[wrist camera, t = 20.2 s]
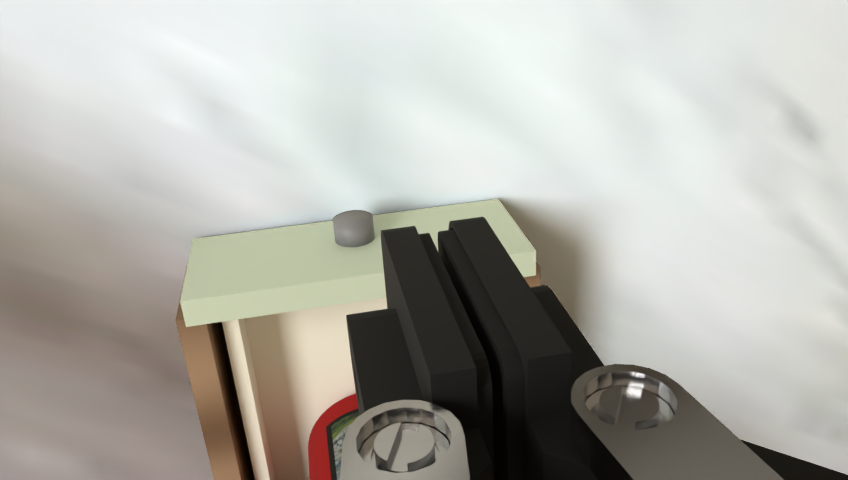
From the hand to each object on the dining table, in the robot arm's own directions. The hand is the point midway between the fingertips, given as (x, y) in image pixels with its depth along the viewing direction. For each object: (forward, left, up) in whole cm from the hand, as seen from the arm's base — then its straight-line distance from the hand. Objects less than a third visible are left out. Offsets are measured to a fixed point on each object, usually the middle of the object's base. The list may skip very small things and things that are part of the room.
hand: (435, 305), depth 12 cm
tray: (+17, 0, -23) cm, 28 cm away
